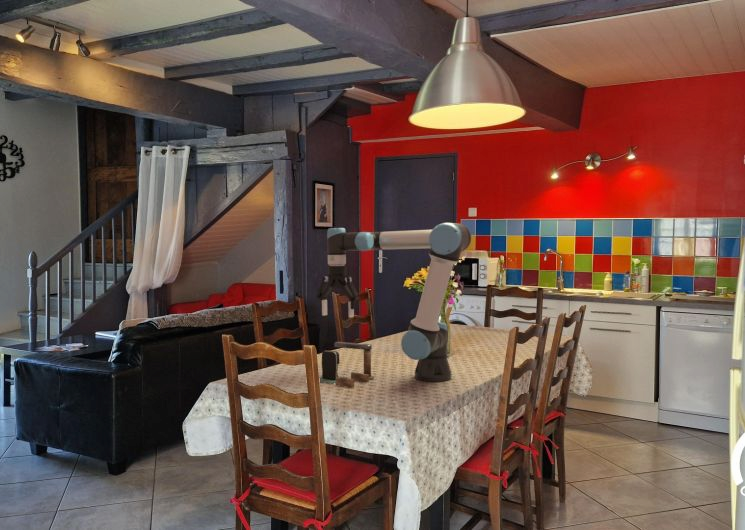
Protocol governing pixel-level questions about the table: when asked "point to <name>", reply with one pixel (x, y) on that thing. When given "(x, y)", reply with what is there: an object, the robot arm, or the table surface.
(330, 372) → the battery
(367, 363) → the cradle
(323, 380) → the mat
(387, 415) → the table surface
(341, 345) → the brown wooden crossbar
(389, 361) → the table surface
